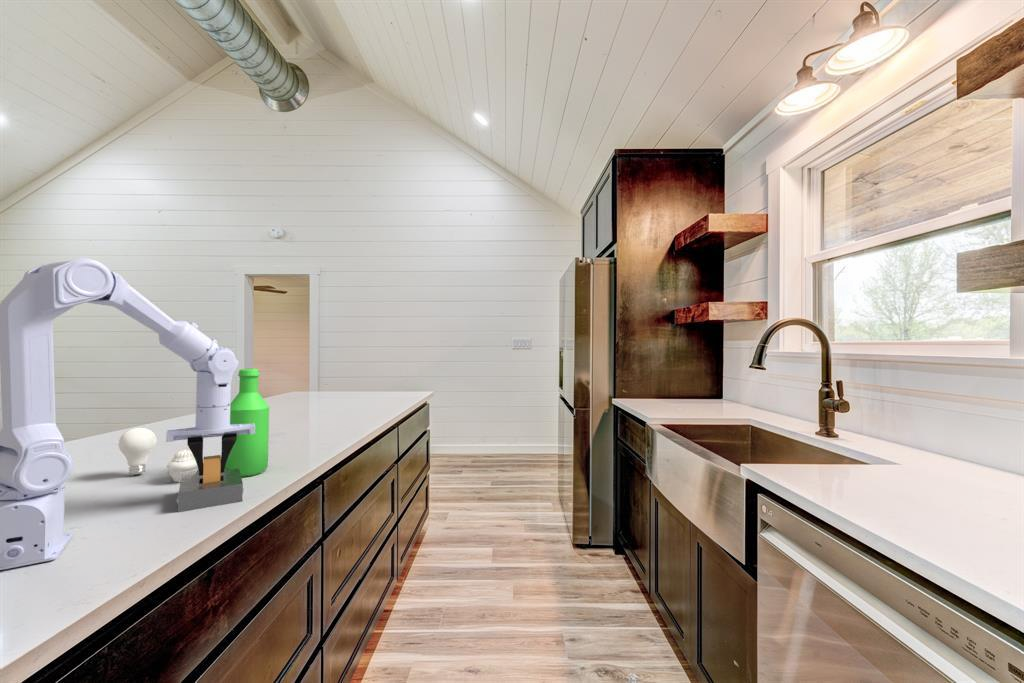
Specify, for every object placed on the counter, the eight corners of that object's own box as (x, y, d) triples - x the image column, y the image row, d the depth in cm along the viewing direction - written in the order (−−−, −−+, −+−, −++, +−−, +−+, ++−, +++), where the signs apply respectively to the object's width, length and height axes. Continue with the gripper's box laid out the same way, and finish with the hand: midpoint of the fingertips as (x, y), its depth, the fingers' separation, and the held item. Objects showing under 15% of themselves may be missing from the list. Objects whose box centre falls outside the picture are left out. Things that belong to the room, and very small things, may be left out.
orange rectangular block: (219, 483, 87) (220, 454, 87) (220, 487, 85) (220, 457, 85) (203, 486, 86) (203, 456, 86) (202, 490, 83) (203, 459, 83)
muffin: (180, 485, 92) (181, 453, 92) (159, 482, 93) (160, 451, 93) (207, 477, 98) (208, 447, 98) (187, 474, 99) (188, 445, 99)
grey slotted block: (245, 500, 84) (245, 482, 84) (174, 512, 77) (174, 492, 77) (240, 478, 97) (240, 462, 97) (179, 486, 91) (180, 469, 91)
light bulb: (124, 472, 100) (125, 426, 100) (159, 469, 103) (160, 424, 103) (112, 481, 94) (113, 431, 94) (150, 477, 97) (151, 429, 97)
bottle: (216, 474, 100) (219, 368, 100) (253, 465, 107) (256, 367, 108) (238, 480, 96) (241, 370, 96) (275, 470, 103) (277, 369, 104)
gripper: (253, 401, 93) (252, 462, 93) (169, 405, 84) (167, 473, 84) (256, 405, 87) (254, 470, 87) (166, 410, 79) (164, 483, 79)
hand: (211, 472), depth 85 cm, fingers closed on orange rectangular block, 3 cm apart
